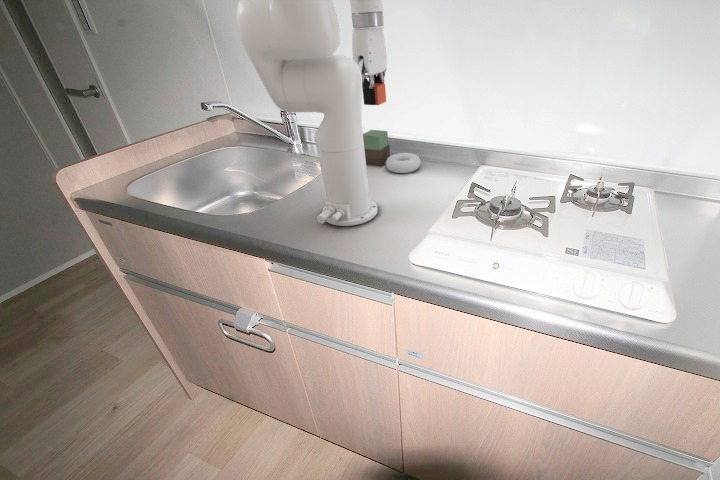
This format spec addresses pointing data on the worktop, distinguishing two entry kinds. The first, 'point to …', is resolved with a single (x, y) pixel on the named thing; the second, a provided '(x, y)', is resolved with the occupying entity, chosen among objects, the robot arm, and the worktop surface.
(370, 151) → the stack base
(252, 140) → the worktop surface
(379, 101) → the toy cube
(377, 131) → the stack middle
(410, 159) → the donut
